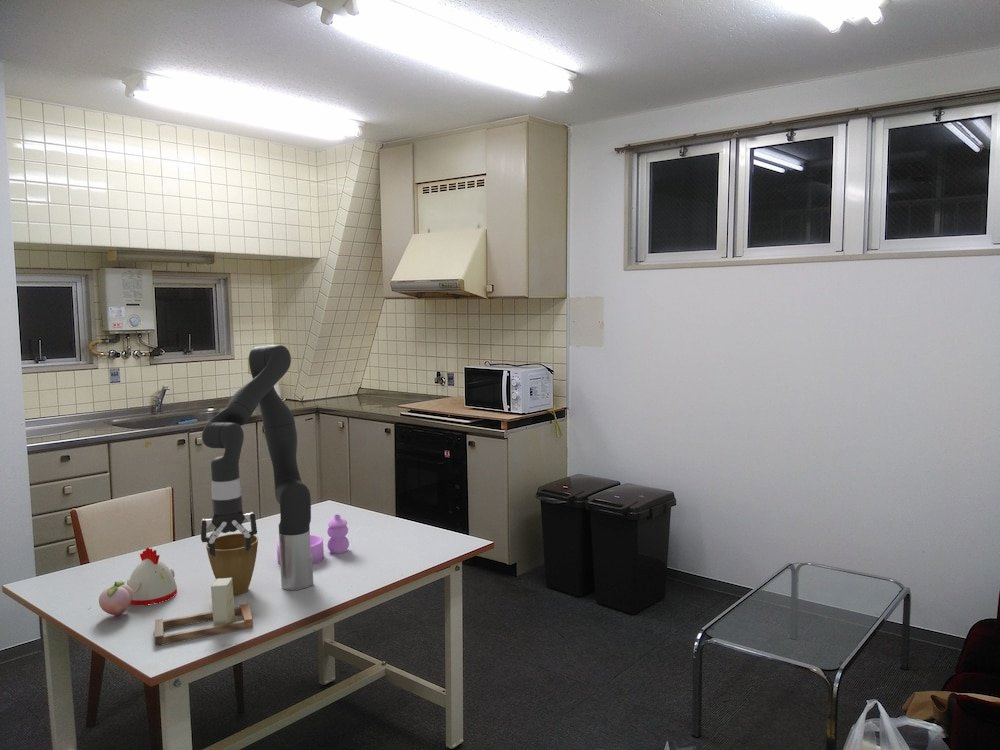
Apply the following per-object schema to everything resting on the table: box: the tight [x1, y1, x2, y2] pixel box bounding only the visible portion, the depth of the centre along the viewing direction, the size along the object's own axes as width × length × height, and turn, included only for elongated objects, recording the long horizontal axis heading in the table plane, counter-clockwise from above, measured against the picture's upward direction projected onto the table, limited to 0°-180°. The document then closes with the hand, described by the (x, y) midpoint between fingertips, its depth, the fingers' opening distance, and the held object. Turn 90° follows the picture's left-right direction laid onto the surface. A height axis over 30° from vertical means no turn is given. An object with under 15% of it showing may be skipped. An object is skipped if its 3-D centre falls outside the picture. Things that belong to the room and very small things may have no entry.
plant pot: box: [205, 532, 259, 597], centre depth 223 cm, size 15×15×16 cm
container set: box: [276, 513, 350, 565], centre depth 253 cm, size 25×15×13 cm, turn 124°
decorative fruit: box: [98, 580, 133, 617], centre depth 207 cm, size 9×8×10 cm
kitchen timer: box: [126, 547, 178, 606], centre depth 220 cm, size 14×14×15 cm
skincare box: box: [210, 578, 236, 626], centre depth 200 cm, size 6×4×12 cm
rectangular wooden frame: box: [154, 603, 254, 647], centre depth 198 cm, size 24×11×2 cm, turn 115°
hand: (230, 553), depth 200 cm, fingers open, 8 cm apart
